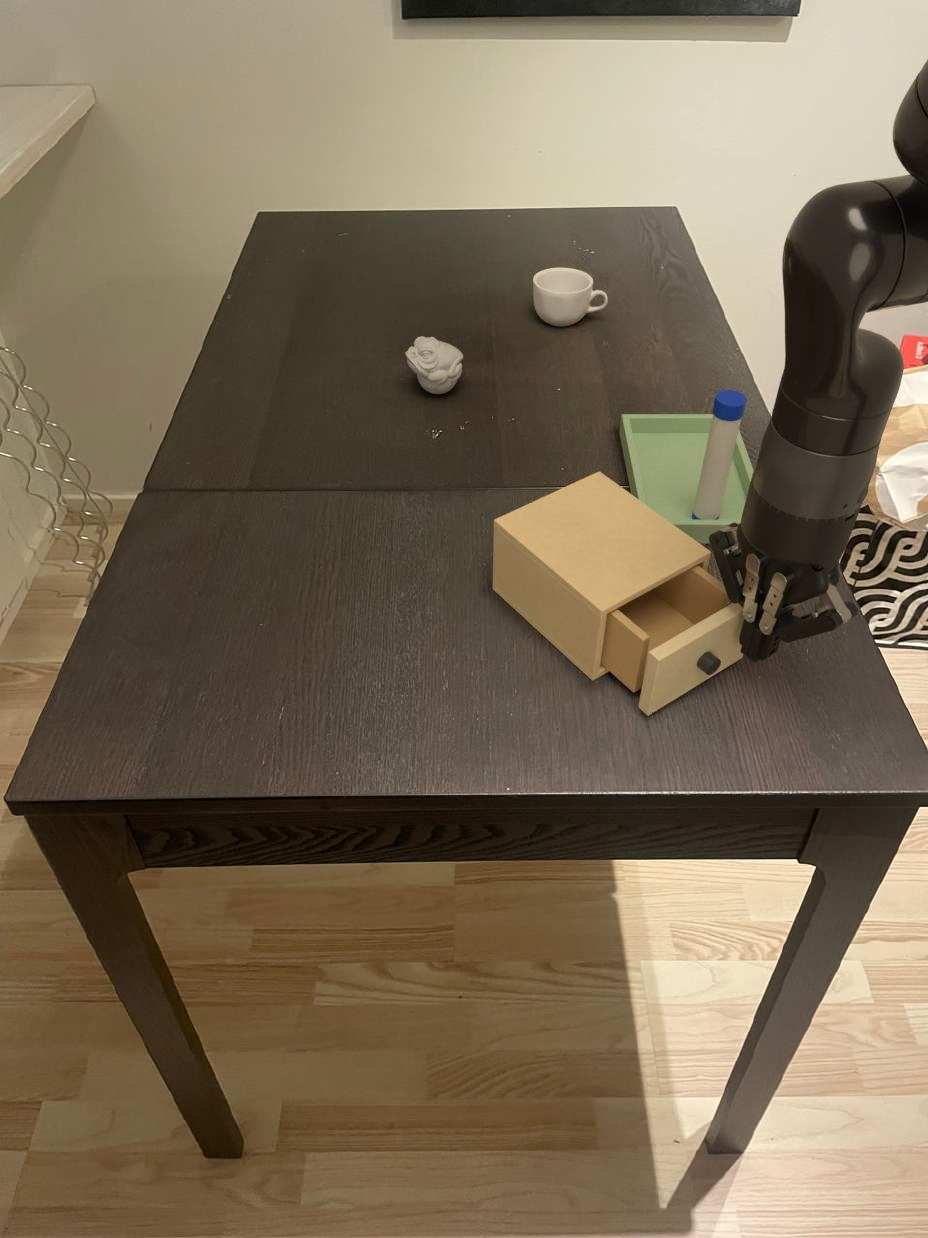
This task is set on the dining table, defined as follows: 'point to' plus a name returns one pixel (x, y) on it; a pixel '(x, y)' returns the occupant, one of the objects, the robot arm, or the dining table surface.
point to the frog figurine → (435, 364)
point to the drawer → (673, 637)
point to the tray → (680, 469)
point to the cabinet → (585, 562)
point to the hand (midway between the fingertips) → (755, 653)
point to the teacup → (564, 295)
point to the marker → (718, 454)
